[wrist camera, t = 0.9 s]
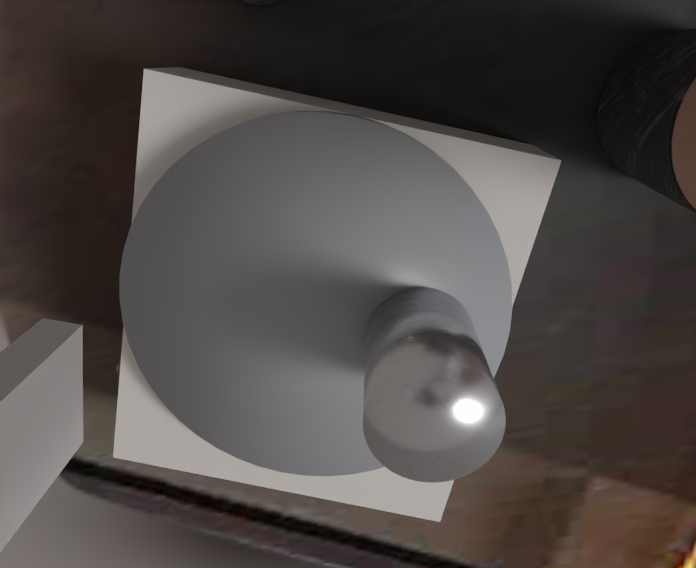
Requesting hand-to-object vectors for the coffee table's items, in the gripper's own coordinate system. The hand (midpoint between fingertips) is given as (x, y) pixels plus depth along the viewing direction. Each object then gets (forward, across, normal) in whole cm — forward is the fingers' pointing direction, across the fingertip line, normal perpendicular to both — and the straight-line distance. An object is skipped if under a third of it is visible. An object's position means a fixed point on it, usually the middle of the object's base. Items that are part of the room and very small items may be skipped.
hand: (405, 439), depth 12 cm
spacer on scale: (+15, +2, -5) cm, 16 cm away
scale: (+21, -3, -6) cm, 22 cm away
